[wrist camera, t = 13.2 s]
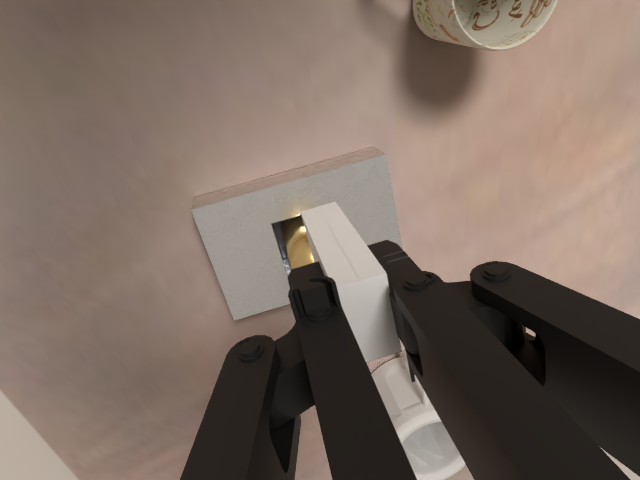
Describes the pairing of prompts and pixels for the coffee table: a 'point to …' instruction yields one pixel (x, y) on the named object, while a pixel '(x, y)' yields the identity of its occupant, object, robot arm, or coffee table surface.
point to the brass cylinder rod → (296, 242)
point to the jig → (283, 203)
